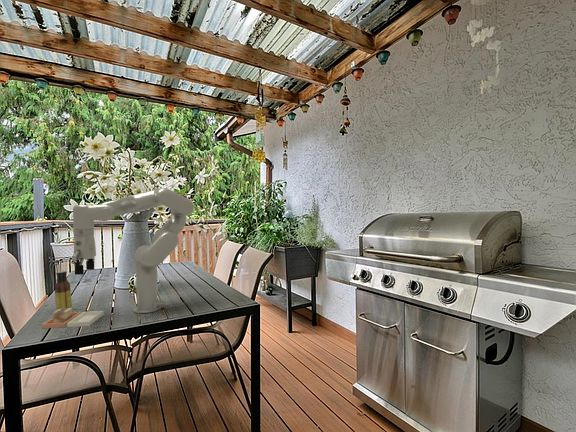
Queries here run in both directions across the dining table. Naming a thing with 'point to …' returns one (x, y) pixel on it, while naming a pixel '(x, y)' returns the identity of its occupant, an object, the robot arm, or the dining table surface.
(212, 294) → the dining table surface
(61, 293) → the sauce bottle
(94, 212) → the robot arm
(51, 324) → the tray
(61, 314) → the letter cube
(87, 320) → the tray
